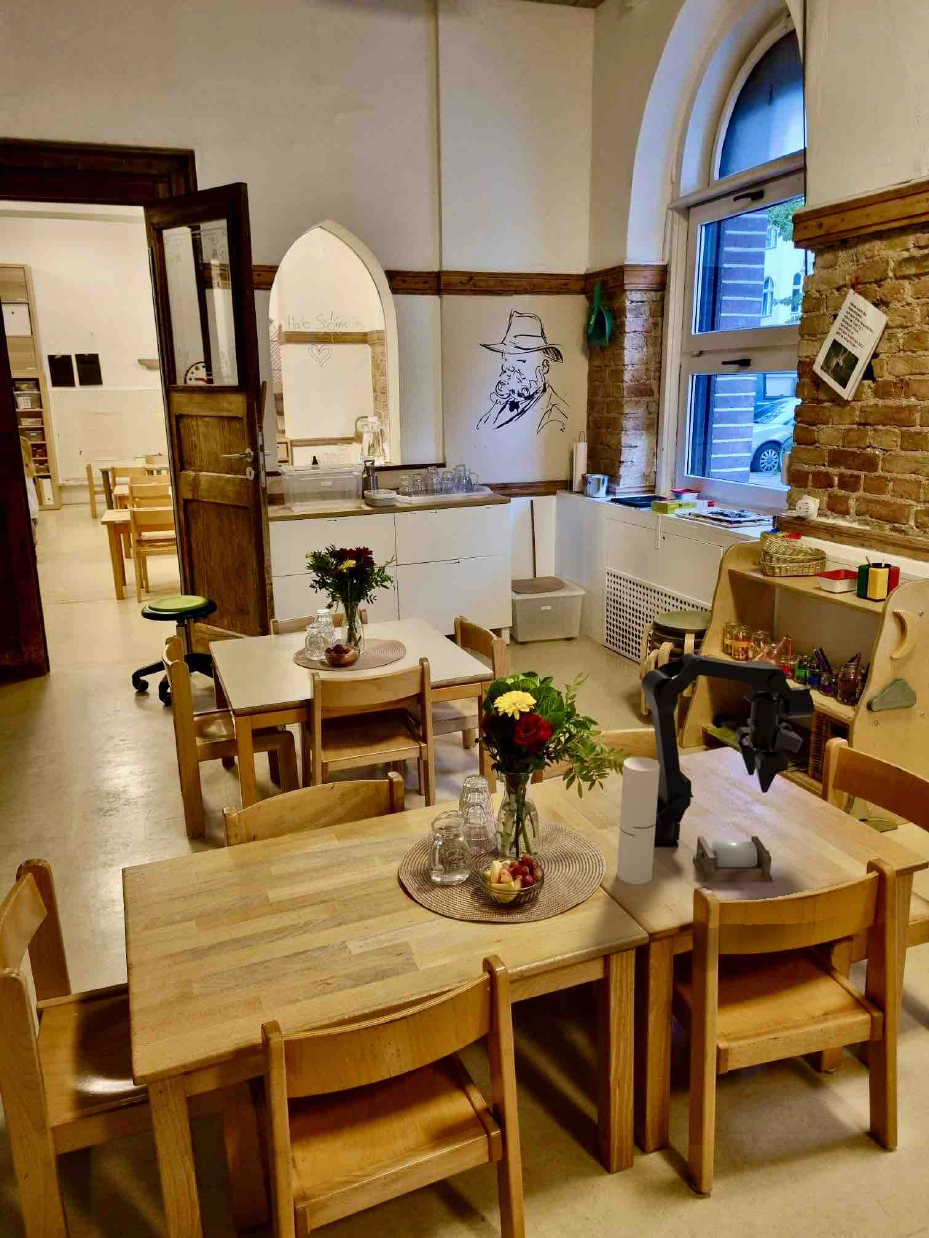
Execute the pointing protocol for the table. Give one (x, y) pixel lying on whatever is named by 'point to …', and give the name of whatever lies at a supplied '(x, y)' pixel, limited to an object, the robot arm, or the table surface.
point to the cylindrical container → (638, 819)
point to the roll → (734, 855)
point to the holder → (710, 874)
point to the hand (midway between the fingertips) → (757, 783)
